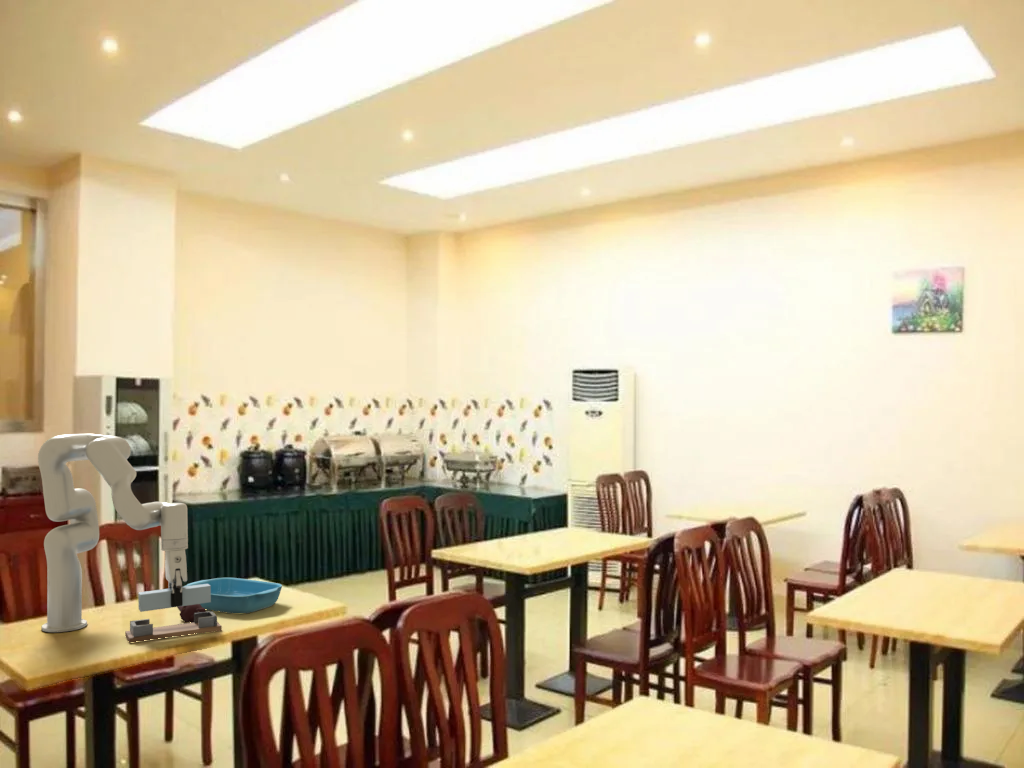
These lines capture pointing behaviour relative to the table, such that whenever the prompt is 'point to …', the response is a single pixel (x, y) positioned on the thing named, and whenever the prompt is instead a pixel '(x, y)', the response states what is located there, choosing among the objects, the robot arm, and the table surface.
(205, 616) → the end caps
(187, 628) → the board
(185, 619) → the icecream
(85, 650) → the table surface
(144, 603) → the slat
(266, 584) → the casserole dish
